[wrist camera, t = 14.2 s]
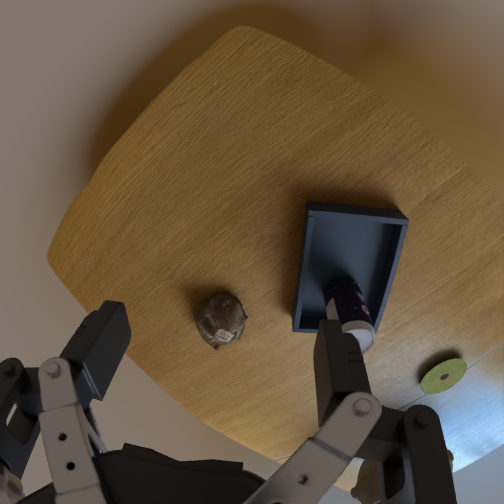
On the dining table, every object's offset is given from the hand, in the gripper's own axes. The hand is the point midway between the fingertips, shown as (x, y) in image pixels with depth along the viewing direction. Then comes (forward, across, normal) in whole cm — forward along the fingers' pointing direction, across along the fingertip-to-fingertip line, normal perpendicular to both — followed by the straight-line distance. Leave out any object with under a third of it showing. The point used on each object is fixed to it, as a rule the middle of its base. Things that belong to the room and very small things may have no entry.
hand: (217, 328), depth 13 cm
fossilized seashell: (+31, +5, +25) cm, 40 cm away
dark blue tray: (+31, -13, +15) cm, 37 cm away
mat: (+31, -41, +39) cm, 65 cm away
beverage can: (+31, -13, +18) cm, 38 cm away
